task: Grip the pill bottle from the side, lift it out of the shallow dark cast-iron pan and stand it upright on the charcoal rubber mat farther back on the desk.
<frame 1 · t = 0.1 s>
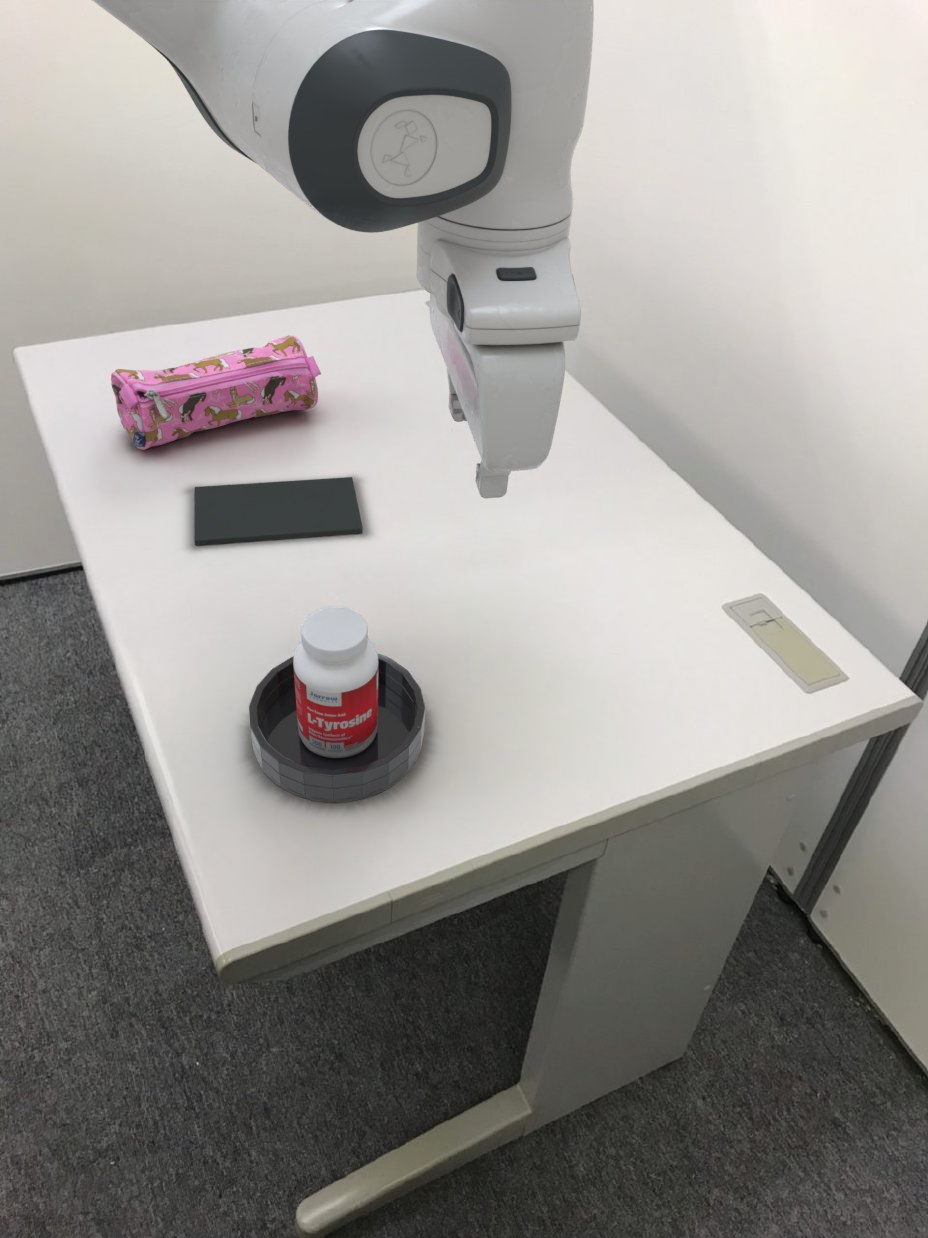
hand: (475, 452, 66), 22 cm above the table, tool pointing down, fingers open, 8 cm apart
pan: (338, 734, 76), on the table
pill bottle: (338, 732, 76), resting on pan
pencil case: (223, 427, 108), on the table
mat: (277, 512, 97), on the table
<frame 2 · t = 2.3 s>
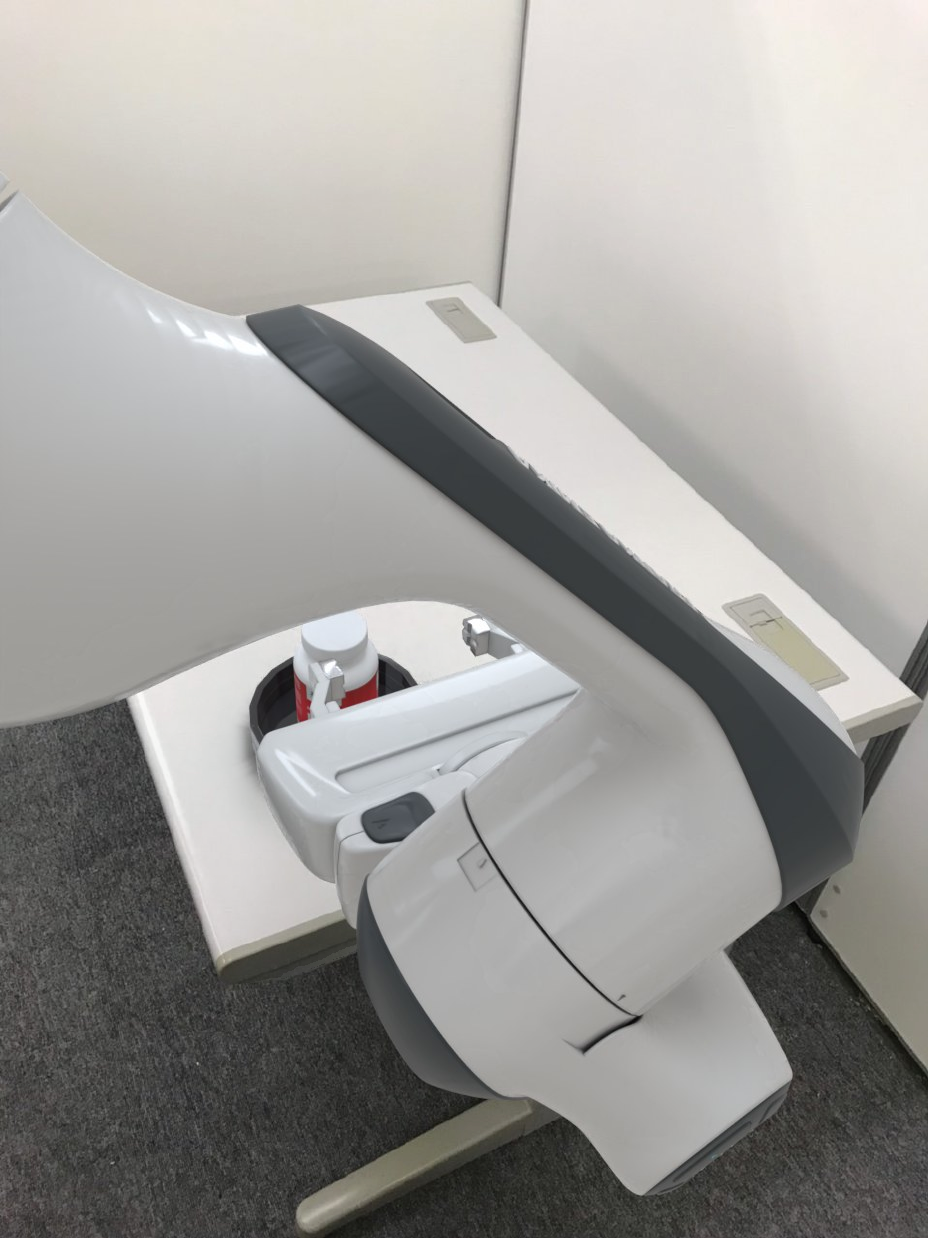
hand: (399, 645, 55), 20 cm above the table, tool horizontal, fingers open, 8 cm apart
nothing on the table moved.
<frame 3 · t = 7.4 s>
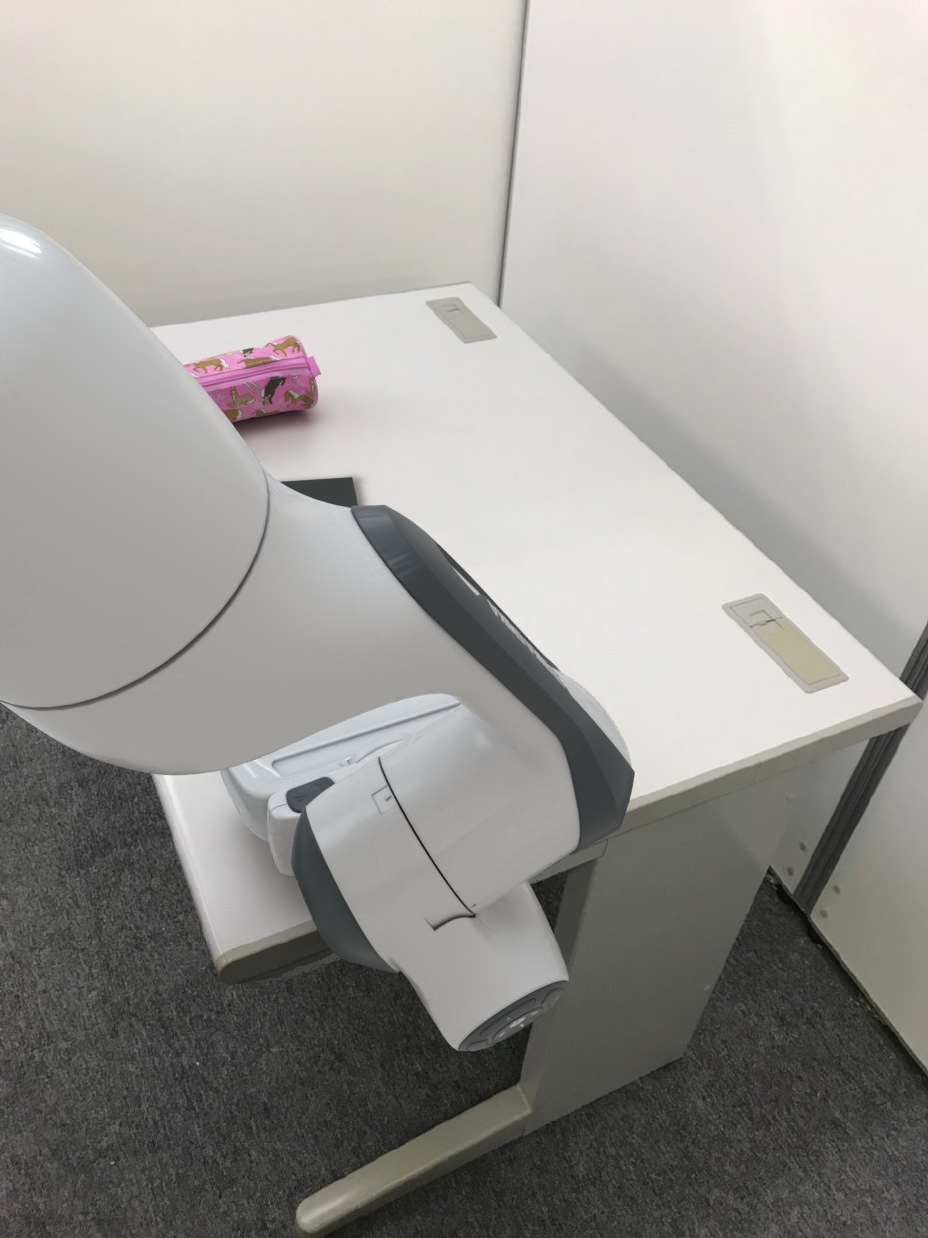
hand: (331, 663, 72), 7 cm above the table, tool horizontal, fingers closed on pill bottle, 6 cm apart
pill bottle: (339, 732, 76), resting on pan, touching gripper
everything else where it was.
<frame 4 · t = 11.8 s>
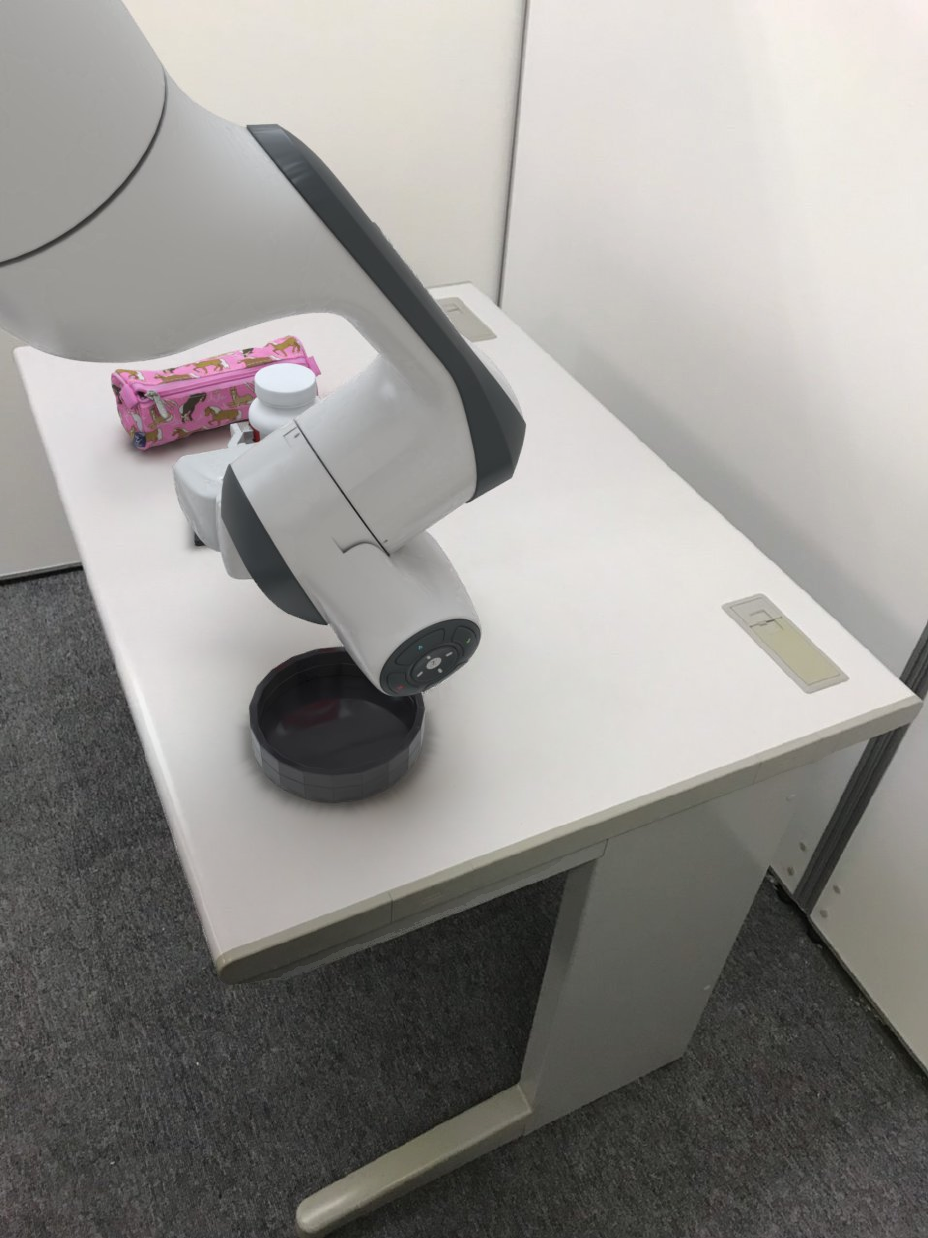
hand: (284, 422, 78), 17 cm above the table, tool horizontal, fingers closed on pill bottle, 6 cm apart
pill bottle: (294, 498, 82), point 10 cm above the table, touching gripper
everything else where it was.
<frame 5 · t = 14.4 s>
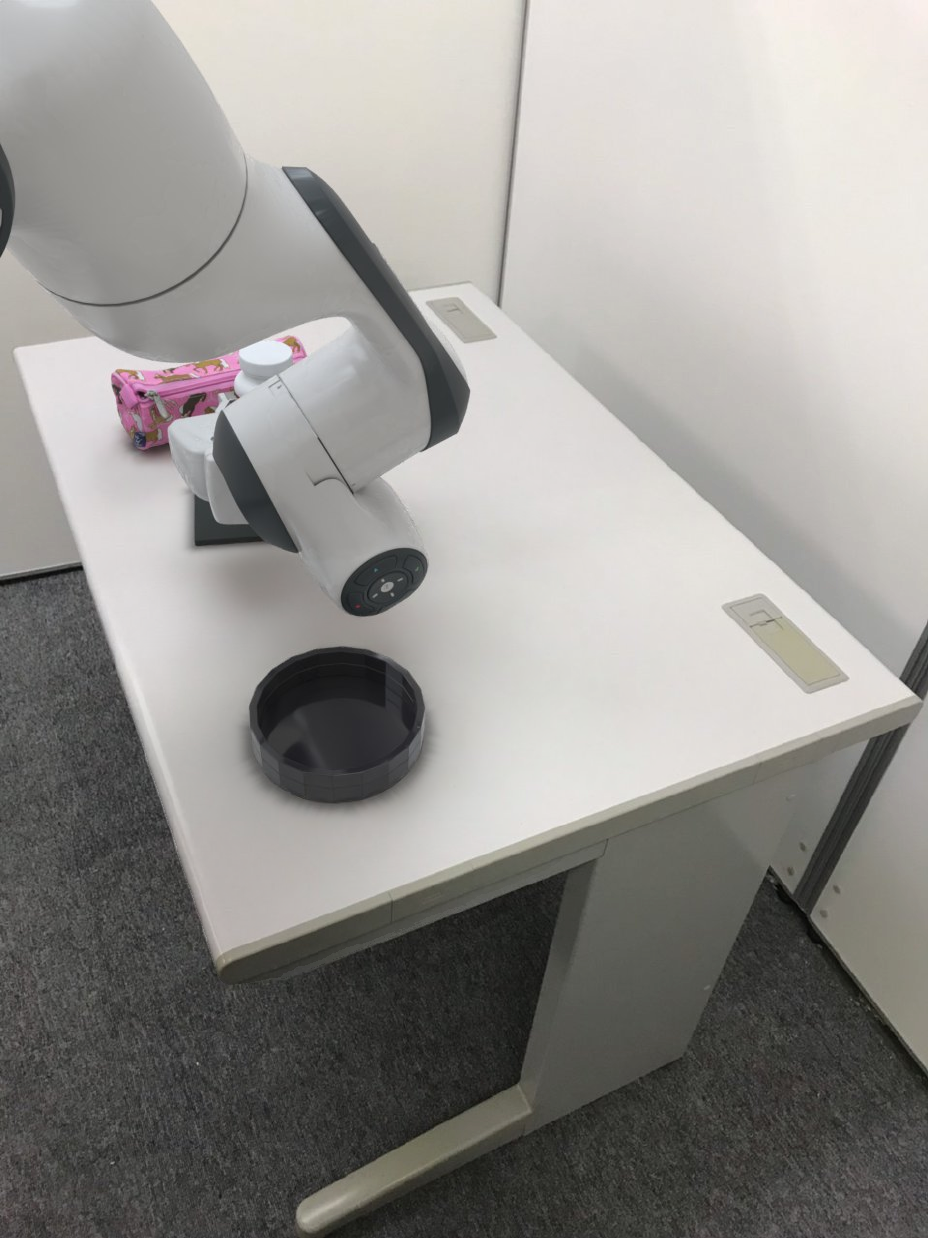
hand: (266, 392, 89), 13 cm above the table, tool horizontal, fingers closed on pill bottle, 6 cm apart
pill bottle: (275, 460, 93), point 6 cm above the table, touching gripper
everything else where it was.
when the fingers open (7 cm above the table, at t = 16.5 s): pill bottle stays where it is, resting on mat.
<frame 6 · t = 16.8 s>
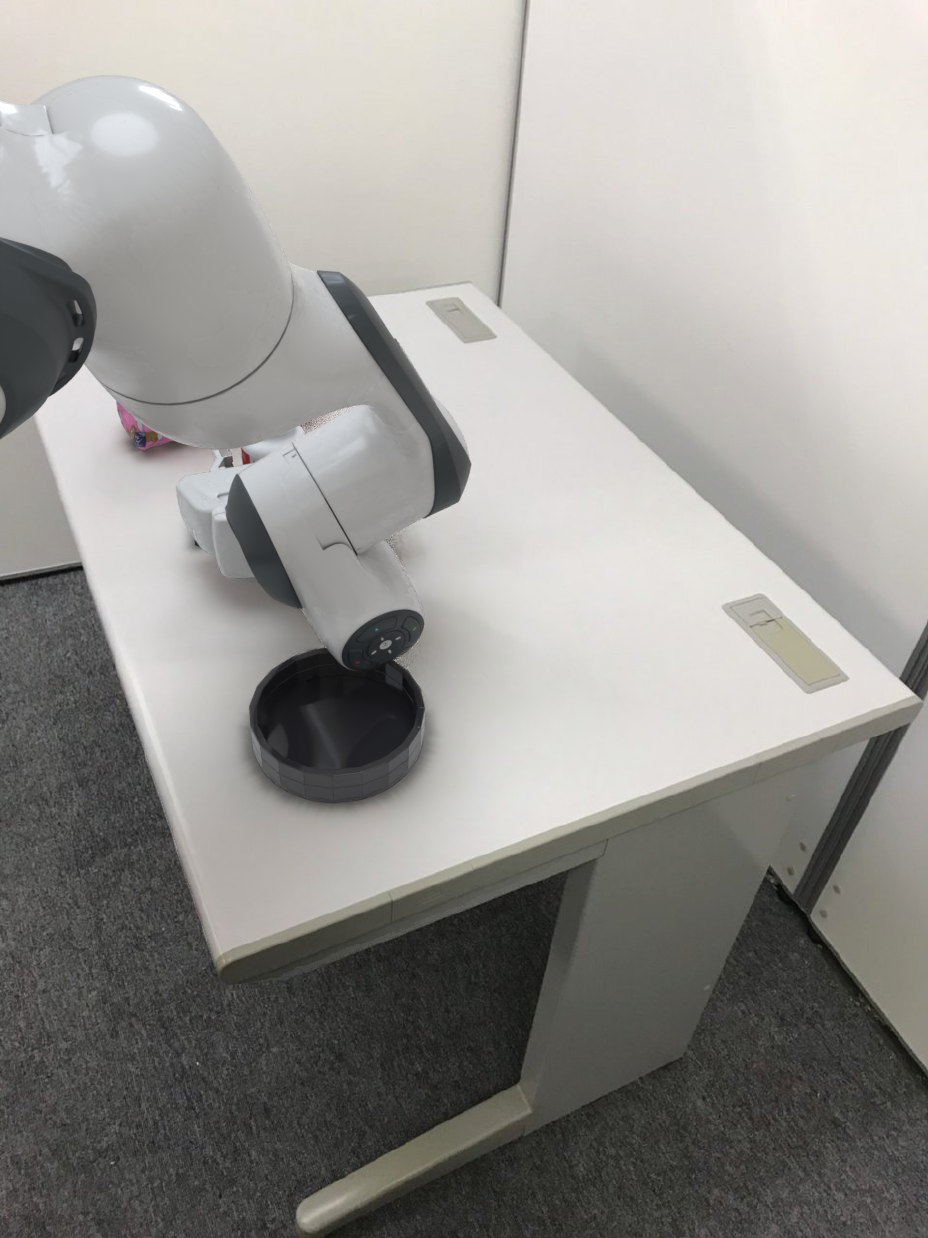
hand: (269, 445, 93), 7 cm above the table, tool horizontal, fingers open, 8 cm apart
pill bottle: (279, 509, 97), resting on mat
everything else where it was.
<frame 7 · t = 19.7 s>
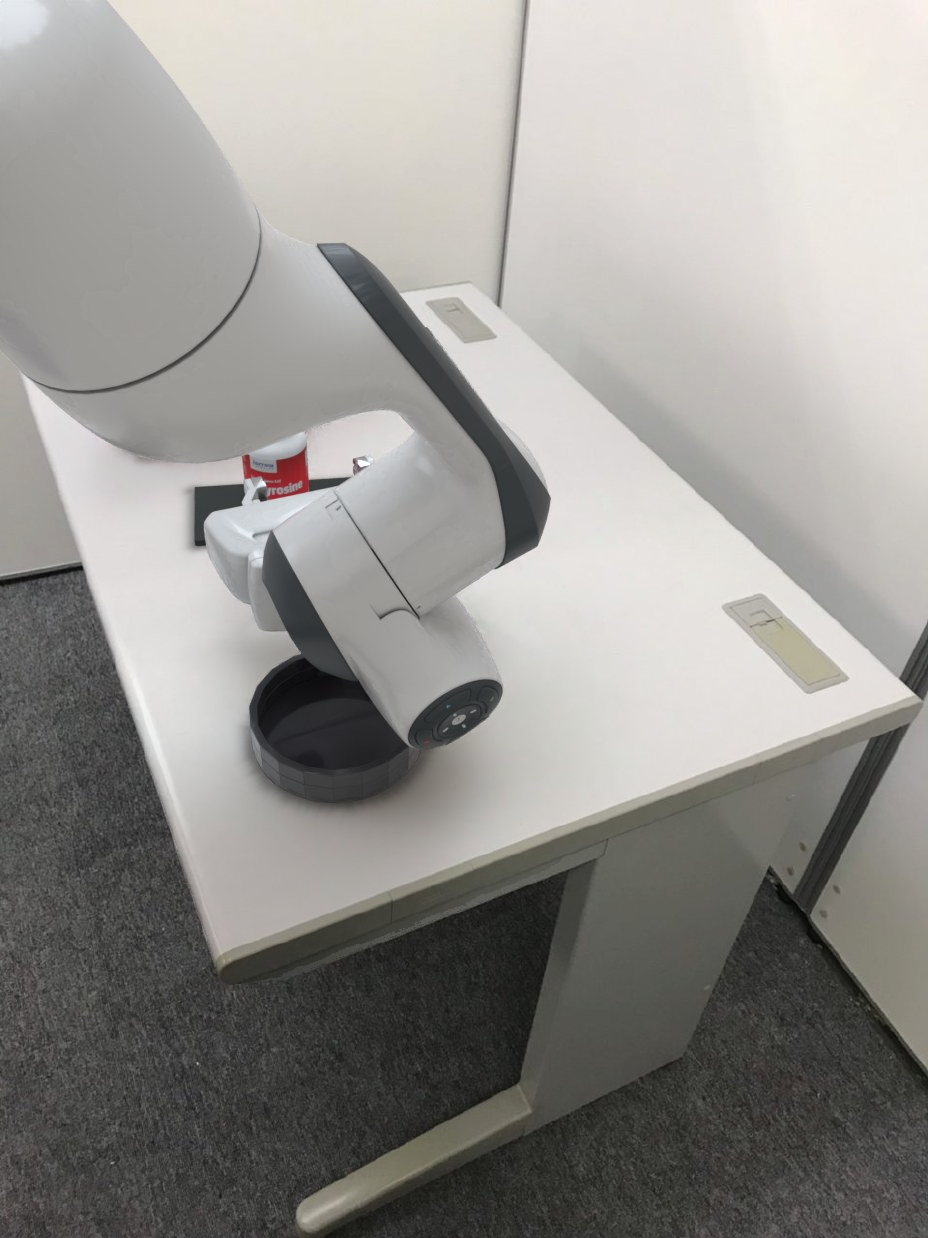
hand: (307, 473, 81), 12 cm above the table, tool horizontal, fingers open, 8 cm apart
nothing on the table moved.
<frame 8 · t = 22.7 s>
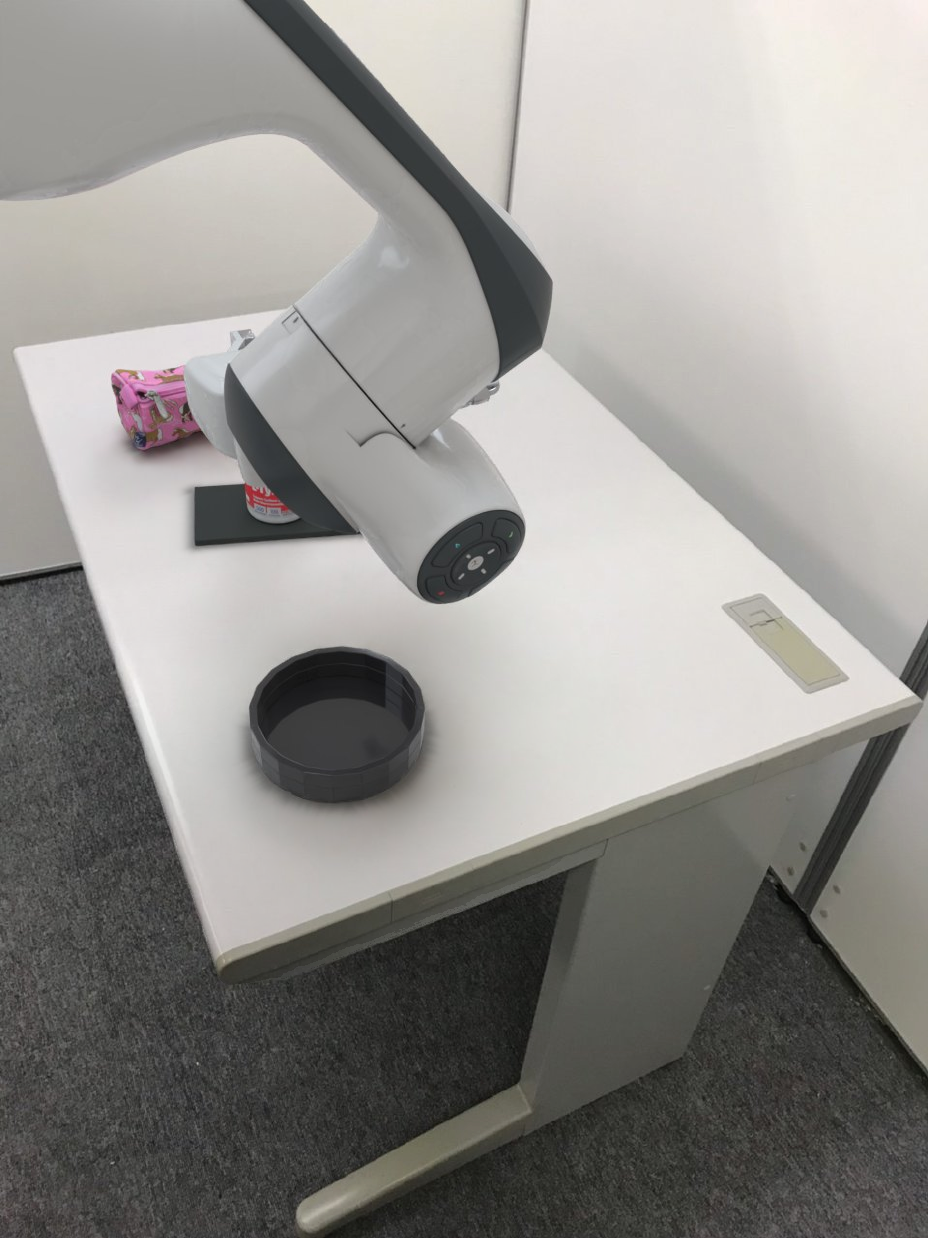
hand: (302, 329, 72), 25 cm above the table, tool horizontal, fingers open, 8 cm apart
nothing on the table moved.
at the end: pill bottle inside the target area on the mat (0.2 cm from its centre), point 0.4 cm above the mat's base; pill bottle tilted 0°; the gripper is holding nothing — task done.
